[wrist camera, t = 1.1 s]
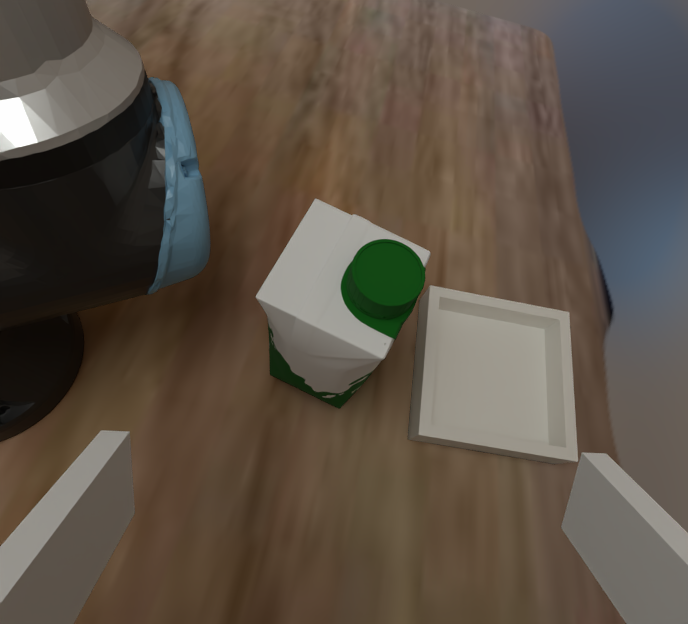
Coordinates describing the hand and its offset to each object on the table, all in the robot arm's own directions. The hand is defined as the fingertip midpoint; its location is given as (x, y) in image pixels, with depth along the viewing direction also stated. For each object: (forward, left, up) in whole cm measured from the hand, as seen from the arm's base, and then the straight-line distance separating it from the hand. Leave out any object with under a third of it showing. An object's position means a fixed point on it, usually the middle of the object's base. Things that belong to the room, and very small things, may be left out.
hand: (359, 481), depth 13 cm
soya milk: (-1, +11, -27) cm, 29 cm away
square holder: (+15, +12, -27) cm, 33 cm away
